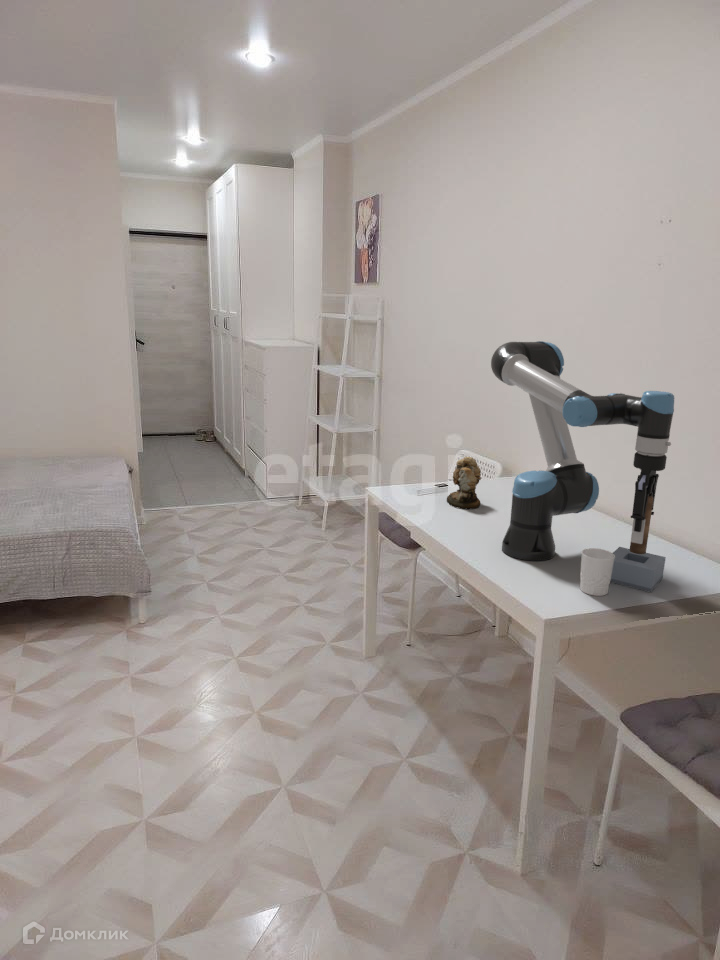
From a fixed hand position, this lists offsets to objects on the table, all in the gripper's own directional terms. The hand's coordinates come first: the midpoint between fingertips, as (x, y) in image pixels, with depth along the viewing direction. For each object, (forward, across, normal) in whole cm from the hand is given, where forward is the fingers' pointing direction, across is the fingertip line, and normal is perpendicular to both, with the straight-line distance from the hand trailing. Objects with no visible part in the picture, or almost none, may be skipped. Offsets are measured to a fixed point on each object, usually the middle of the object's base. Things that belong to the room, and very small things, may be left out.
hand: (638, 540), depth 176 cm
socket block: (+11, 0, 0) cm, 11 cm away
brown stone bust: (+11, +34, +69) cm, 78 cm away
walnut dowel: (+3, 0, 0) cm, 3 cm away
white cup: (+11, -14, +6) cm, 19 cm away
